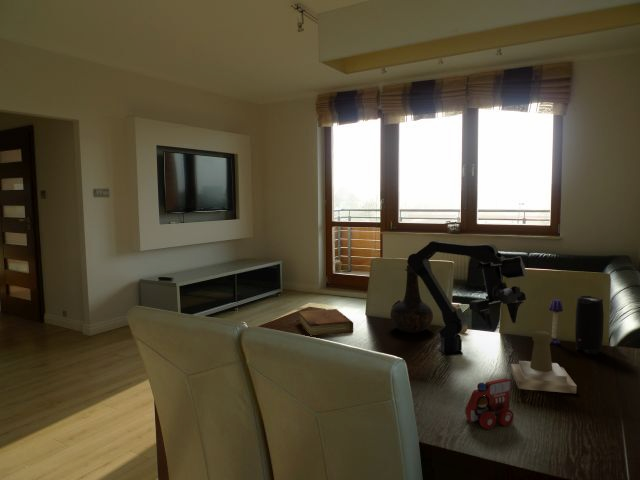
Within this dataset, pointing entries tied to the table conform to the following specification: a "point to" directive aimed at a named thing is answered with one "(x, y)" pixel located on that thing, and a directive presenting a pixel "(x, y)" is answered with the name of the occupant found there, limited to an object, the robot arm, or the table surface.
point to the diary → (325, 322)
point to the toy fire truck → (490, 404)
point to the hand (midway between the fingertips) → (502, 325)
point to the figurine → (466, 325)
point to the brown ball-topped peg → (541, 352)
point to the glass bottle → (411, 308)
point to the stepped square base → (542, 378)
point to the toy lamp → (555, 318)
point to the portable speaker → (589, 324)
